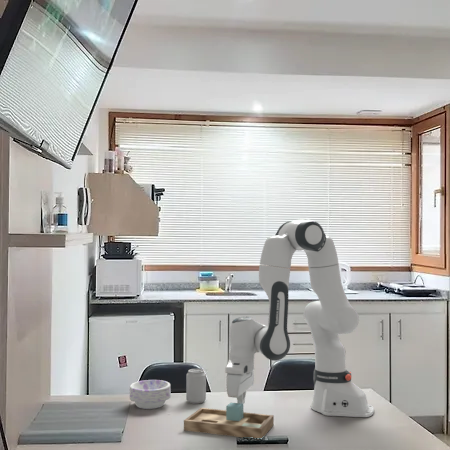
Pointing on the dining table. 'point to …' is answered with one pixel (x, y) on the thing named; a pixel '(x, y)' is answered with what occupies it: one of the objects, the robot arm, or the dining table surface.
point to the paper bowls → (150, 393)
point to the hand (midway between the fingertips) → (241, 404)
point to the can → (196, 386)
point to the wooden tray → (229, 423)
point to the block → (234, 411)
